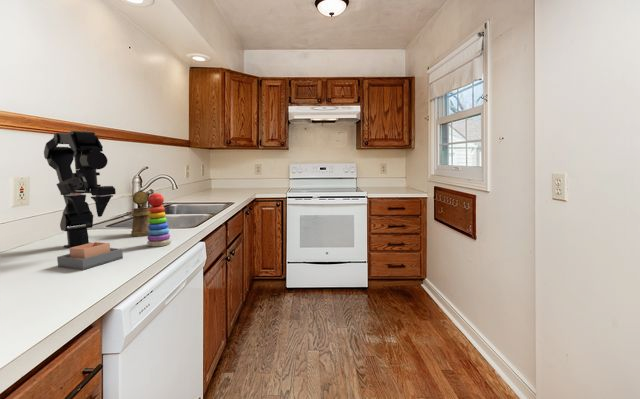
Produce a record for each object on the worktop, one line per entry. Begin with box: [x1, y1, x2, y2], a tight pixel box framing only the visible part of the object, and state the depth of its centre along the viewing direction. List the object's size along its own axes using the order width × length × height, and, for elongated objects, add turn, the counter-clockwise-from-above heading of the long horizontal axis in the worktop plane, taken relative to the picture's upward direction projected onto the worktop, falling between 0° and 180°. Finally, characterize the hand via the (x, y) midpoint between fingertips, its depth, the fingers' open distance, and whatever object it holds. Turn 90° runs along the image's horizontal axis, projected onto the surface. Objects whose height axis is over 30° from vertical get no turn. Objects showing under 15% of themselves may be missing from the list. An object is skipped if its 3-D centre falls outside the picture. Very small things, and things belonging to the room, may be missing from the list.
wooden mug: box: [130, 190, 151, 237], centre depth 144 cm, size 9×14×18 cm, turn 27°
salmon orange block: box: [68, 241, 111, 259], centre depth 102 cm, size 6×8×4 cm
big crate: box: [56, 247, 124, 271], centre depth 102 cm, size 10×12×3 cm
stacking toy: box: [146, 192, 172, 248], centre depth 123 cm, size 8×8×19 cm
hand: (90, 216), depth 115 cm, fingers open, 9 cm apart
